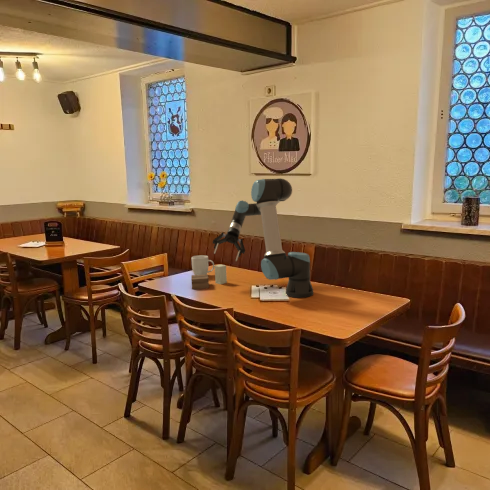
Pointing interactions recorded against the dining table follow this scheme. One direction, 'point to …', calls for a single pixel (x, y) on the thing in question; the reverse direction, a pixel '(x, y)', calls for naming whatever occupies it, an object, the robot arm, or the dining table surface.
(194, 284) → the walnut base
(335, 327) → the dining table surface
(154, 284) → the dining table surface
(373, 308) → the dining table surface
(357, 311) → the dining table surface
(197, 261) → the mug
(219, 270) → the sage block
